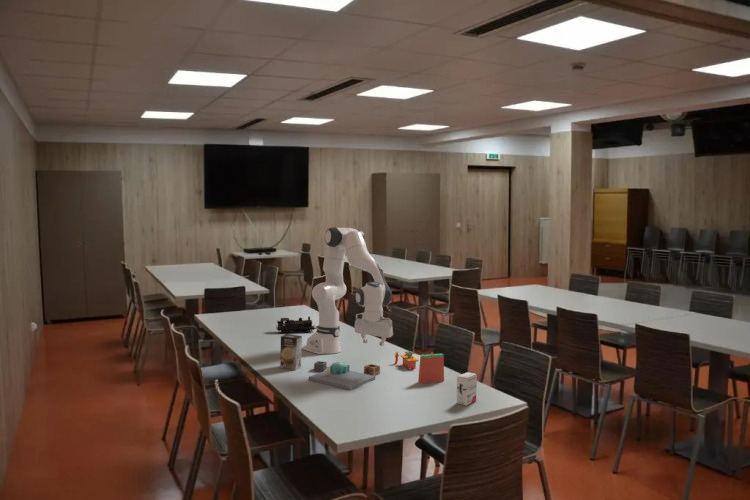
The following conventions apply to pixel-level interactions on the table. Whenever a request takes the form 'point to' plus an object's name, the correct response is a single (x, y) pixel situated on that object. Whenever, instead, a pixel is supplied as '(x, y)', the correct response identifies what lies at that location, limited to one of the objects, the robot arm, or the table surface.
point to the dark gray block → (320, 366)
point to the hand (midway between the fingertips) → (373, 344)
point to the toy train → (295, 325)
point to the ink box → (466, 388)
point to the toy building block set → (425, 366)
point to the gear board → (341, 376)
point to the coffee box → (290, 352)
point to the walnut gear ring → (372, 369)
